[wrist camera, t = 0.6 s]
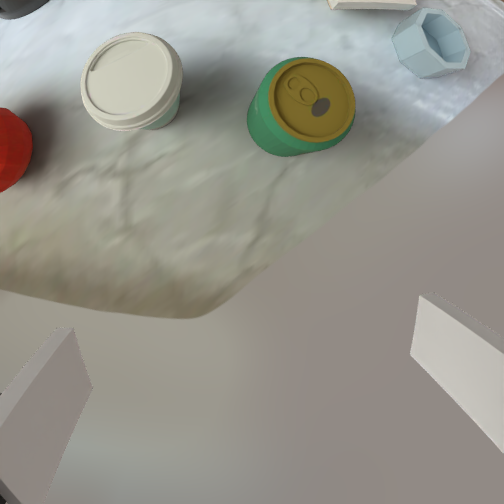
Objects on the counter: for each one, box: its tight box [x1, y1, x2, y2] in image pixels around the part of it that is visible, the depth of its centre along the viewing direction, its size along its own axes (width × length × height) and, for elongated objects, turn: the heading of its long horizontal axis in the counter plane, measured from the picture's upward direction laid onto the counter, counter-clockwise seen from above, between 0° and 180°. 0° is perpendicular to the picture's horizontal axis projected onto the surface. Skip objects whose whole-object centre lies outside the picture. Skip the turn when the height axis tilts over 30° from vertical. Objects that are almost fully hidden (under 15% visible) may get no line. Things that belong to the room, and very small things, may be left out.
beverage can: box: [247, 57, 355, 157], centre depth 28 cm, size 8×8×12 cm
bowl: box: [392, 7, 470, 78], centre depth 30 cm, size 8×8×6 cm
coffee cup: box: [81, 32, 183, 131], centre depth 26 cm, size 8×8×12 cm
